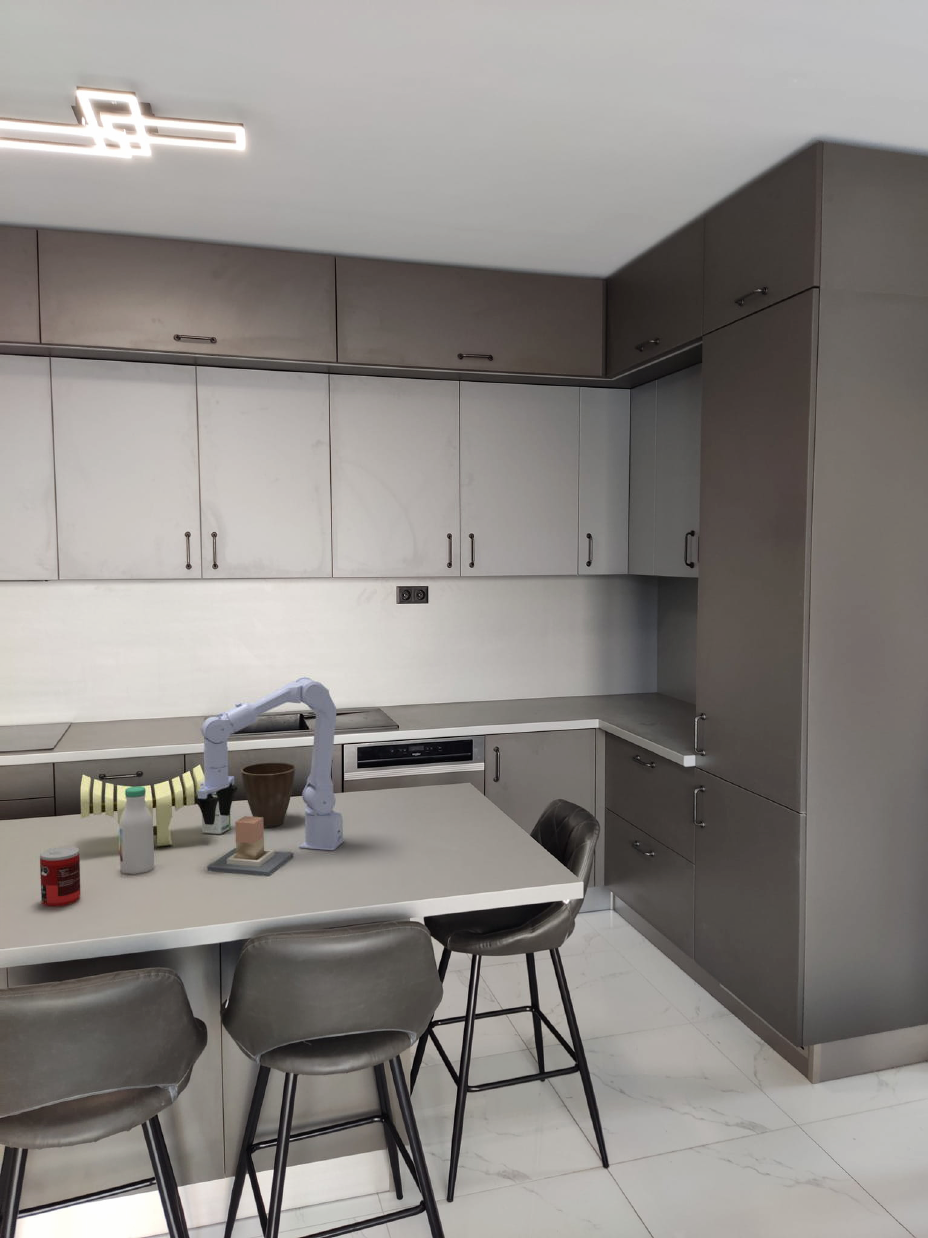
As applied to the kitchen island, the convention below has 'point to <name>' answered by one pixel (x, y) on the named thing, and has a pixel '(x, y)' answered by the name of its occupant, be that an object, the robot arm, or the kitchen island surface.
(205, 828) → the syrup box
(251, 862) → the slate baseplate
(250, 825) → the terracotta block
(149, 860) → the milk bottle
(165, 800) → the slatted curved stool
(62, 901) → the canned food
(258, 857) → the oak block
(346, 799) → the kitchen island surface
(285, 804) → the plant pot
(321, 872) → the kitchen island surface
